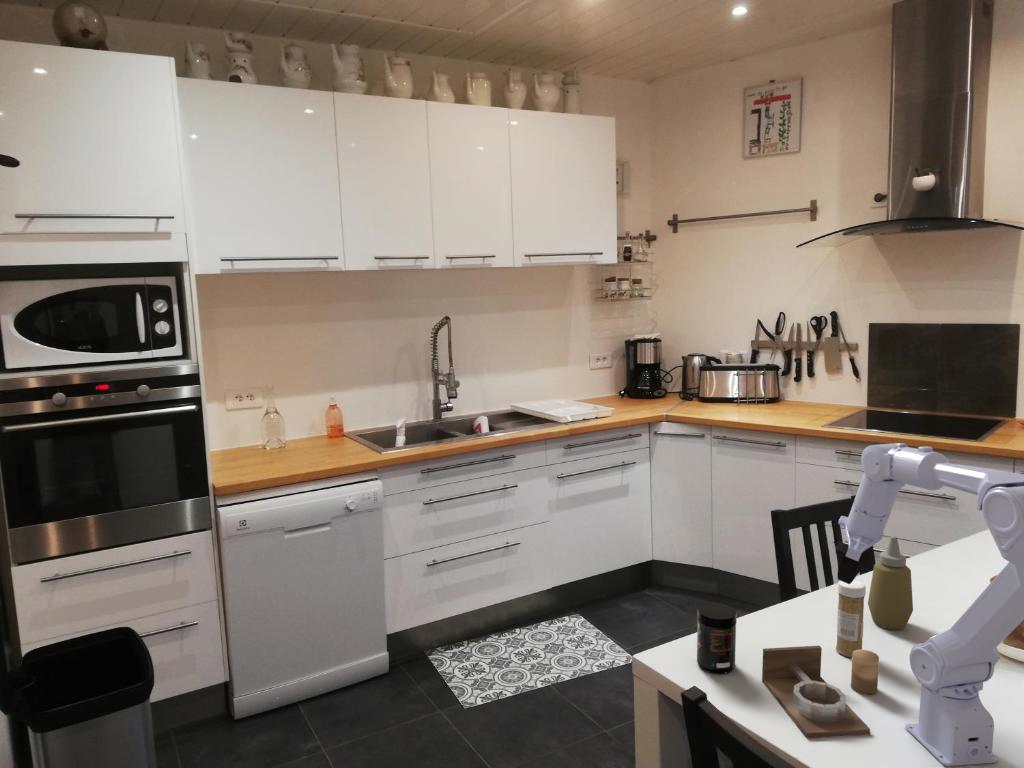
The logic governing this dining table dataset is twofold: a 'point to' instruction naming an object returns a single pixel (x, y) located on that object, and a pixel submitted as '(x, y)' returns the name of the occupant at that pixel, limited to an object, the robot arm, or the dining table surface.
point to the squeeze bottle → (891, 589)
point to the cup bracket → (808, 693)
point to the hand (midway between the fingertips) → (848, 568)
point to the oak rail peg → (864, 672)
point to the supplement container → (716, 637)
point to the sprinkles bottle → (850, 617)
